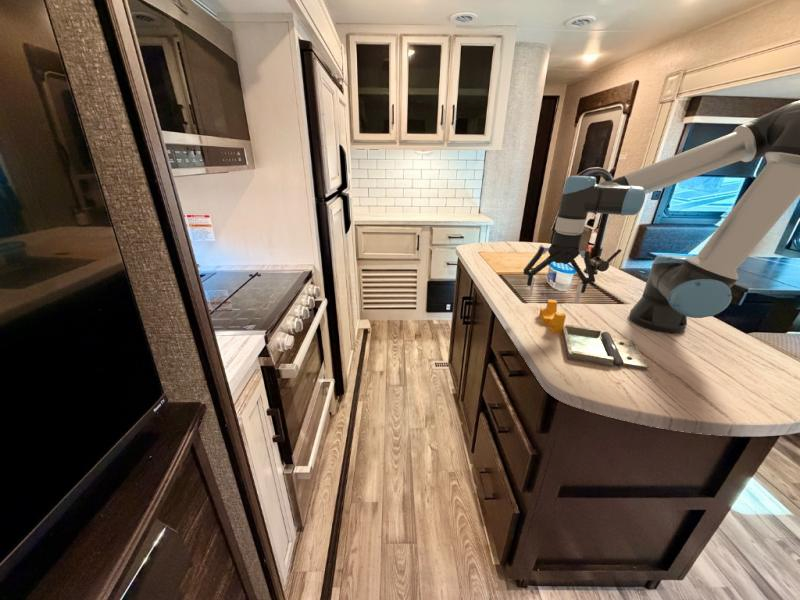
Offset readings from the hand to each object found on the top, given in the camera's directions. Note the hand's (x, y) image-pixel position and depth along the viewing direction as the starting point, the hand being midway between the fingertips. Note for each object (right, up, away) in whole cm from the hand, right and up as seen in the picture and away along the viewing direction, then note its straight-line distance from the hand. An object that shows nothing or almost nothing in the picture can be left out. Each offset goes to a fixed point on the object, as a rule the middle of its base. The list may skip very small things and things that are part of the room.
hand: (552, 298), depth 103 cm
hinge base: (+10, -15, -11) cm, 21 cm away
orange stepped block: (+1, -9, +4) cm, 10 cm away
